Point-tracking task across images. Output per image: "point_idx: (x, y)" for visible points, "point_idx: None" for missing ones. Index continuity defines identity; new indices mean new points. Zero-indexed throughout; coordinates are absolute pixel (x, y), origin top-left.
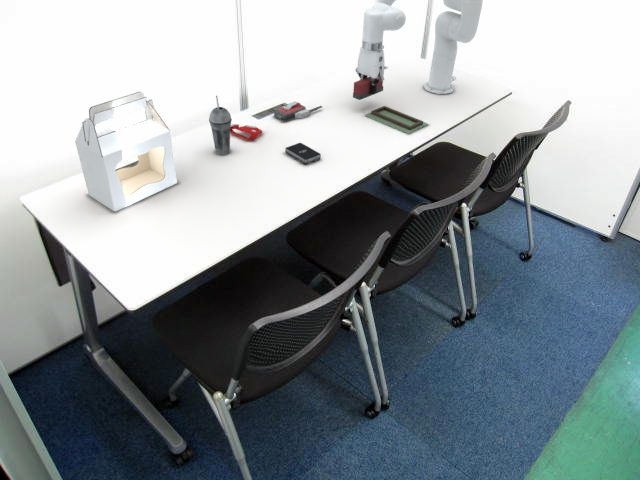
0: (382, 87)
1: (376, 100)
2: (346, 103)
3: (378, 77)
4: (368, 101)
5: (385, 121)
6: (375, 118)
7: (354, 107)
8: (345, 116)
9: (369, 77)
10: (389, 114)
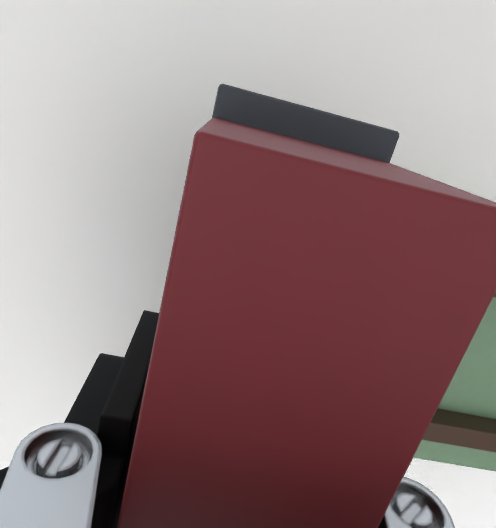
0: (386, 160)
1: (218, 37)
2: (15, 312)
3: (399, 385)
4: (158, 128)
5: (486, 451)
6: None
7: None
8: None
9: (168, 512)
10: (483, 327)
